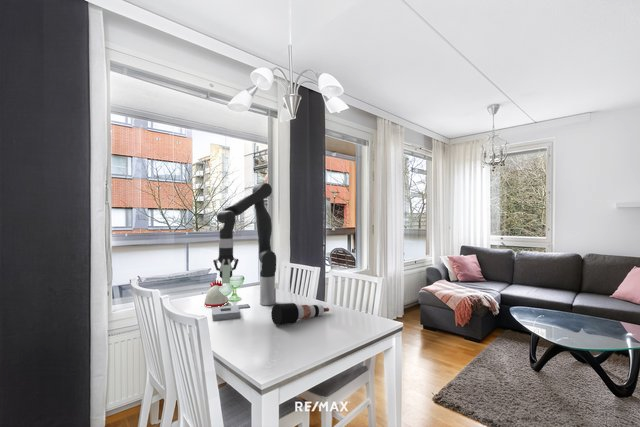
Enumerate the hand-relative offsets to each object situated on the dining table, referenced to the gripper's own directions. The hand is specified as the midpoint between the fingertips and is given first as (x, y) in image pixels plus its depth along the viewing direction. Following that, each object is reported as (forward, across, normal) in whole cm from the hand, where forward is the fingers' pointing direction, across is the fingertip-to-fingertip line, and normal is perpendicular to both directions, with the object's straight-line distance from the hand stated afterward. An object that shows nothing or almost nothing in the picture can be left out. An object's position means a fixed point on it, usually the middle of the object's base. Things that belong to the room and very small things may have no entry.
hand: (225, 277), depth 173 cm
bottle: (+21, -38, +22) cm, 49 cm away
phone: (+21, -8, -13) cm, 26 cm away
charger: (+3, 0, 0) cm, 3 cm away
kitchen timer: (+21, +4, -25) cm, 33 cm away
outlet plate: (+21, 0, 0) cm, 21 cm away
